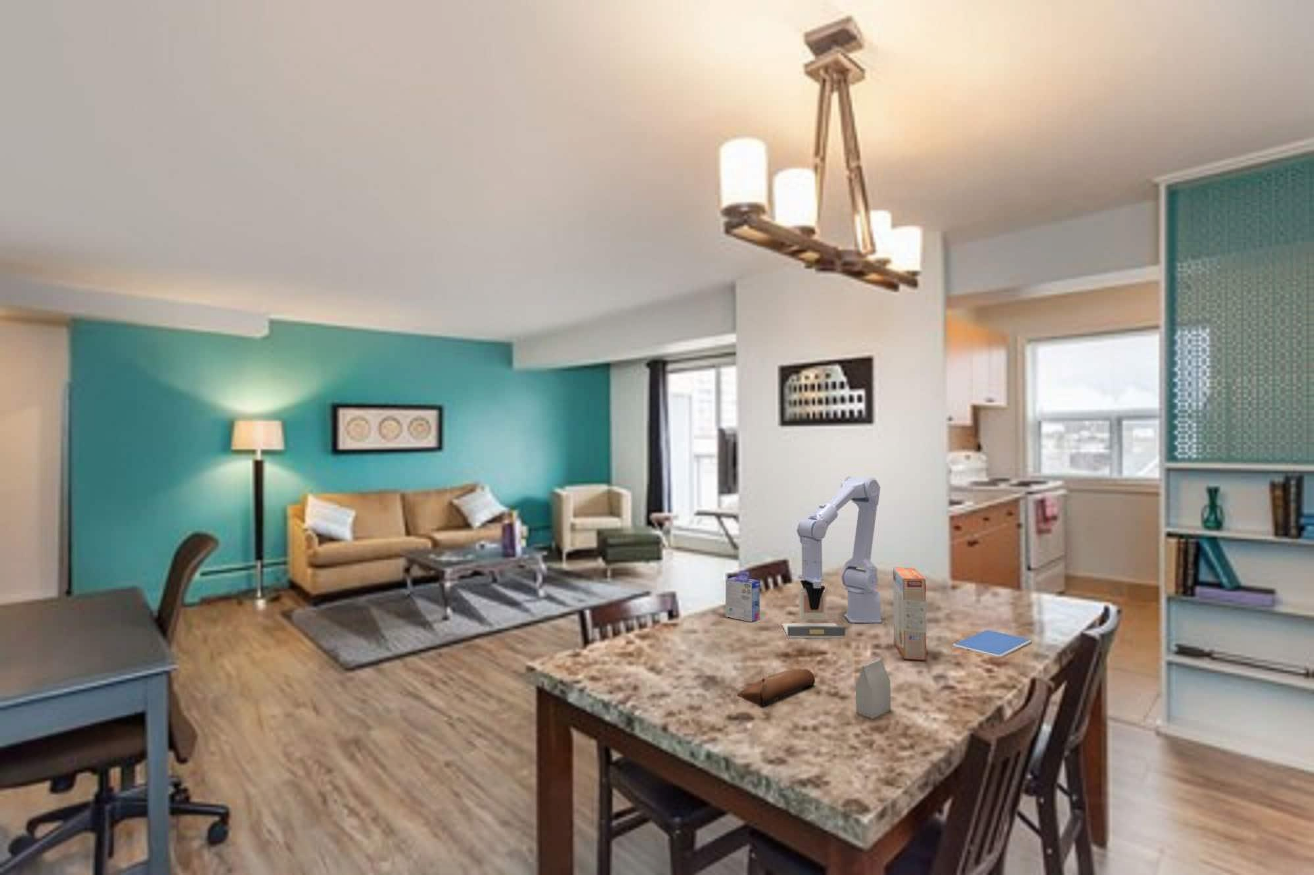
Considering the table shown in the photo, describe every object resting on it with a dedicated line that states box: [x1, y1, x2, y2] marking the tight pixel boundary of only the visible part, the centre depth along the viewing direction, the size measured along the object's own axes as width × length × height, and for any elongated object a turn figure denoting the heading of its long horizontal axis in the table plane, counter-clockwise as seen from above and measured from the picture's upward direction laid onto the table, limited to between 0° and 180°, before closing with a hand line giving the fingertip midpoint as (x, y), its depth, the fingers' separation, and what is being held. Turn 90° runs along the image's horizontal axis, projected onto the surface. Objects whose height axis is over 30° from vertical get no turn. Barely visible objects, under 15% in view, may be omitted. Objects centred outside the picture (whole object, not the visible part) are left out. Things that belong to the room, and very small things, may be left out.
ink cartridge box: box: [725, 570, 761, 623], centre depth 196 cm, size 10×6×14 cm, turn 53°
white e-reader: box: [781, 622, 846, 639], centre depth 181 cm, size 16×12×3 cm
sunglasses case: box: [736, 668, 816, 708], centre depth 139 cm, size 18×7×7 cm
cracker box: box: [892, 567, 927, 661], centre depth 163 cm, size 14×6×21 cm, turn 168°
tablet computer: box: [952, 629, 1033, 658], centre depth 167 cm, size 19×13×1 cm, turn 127°
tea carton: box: [798, 587, 827, 620], centre depth 180 cm, size 4×7×8 cm, turn 86°
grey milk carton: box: [855, 658, 892, 719], centre depth 128 cm, size 4×7×10 cm, turn 128°
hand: (812, 607), depth 180 cm, fingers closed on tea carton, 4 cm apart
